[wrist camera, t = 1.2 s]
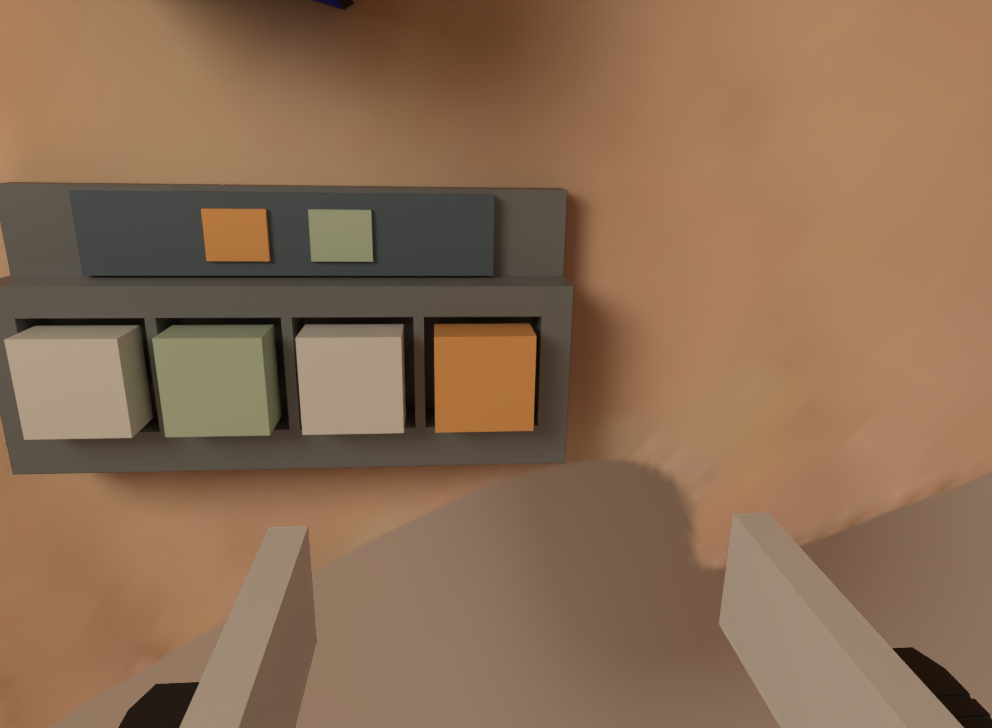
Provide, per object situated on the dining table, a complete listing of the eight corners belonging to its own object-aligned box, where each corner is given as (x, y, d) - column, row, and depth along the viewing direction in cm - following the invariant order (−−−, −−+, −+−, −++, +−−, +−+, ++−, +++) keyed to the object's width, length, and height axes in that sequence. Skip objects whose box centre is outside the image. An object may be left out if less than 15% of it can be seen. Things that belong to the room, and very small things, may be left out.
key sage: (184, 417, 28) (165, 437, 26) (172, 325, 27) (151, 338, 25) (281, 416, 28) (269, 435, 26) (273, 324, 27) (261, 337, 25)
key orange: (435, 413, 28) (435, 432, 27) (434, 324, 27) (434, 337, 25) (527, 412, 29) (533, 430, 27) (529, 323, 28) (536, 336, 26)
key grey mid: (311, 415, 28) (302, 434, 26) (305, 324, 27) (295, 337, 25) (405, 414, 28) (403, 433, 26) (403, 323, 27) (401, 336, 25)
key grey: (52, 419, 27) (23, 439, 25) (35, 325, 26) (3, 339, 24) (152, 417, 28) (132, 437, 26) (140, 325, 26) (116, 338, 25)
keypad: (59, 439, 31) (12, 474, 27) (11, 182, 27) (-48, 186, 24) (551, 430, 32) (565, 462, 29) (561, 188, 29) (578, 193, 26)
